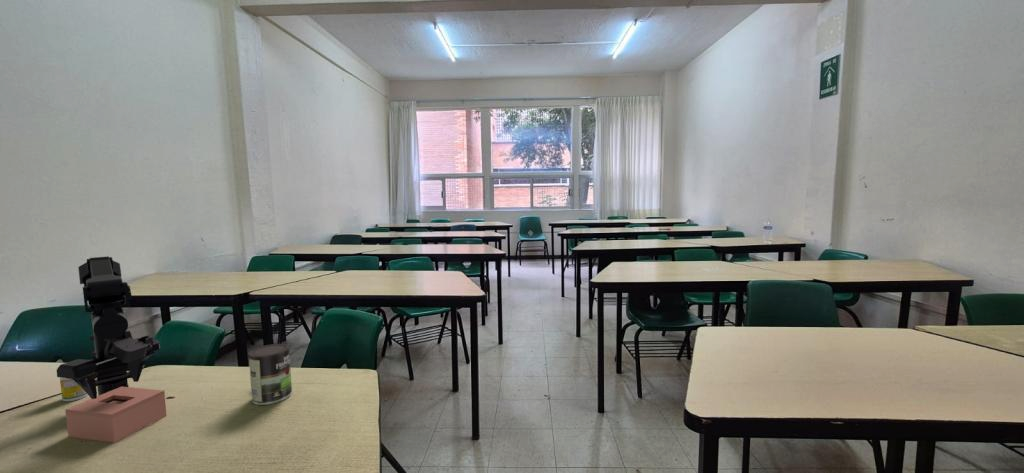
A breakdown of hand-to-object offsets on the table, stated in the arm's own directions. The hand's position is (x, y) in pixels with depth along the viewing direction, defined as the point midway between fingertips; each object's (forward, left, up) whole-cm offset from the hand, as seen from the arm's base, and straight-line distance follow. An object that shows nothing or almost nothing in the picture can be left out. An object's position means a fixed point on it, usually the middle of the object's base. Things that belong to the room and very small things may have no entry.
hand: (116, 389), depth 101 cm
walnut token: (0, 0, -9) cm, 9 cm away
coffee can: (+27, +20, -10) cm, 35 cm away
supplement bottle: (-30, +10, -10) cm, 33 cm away
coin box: (0, 0, -10) cm, 10 cm away
